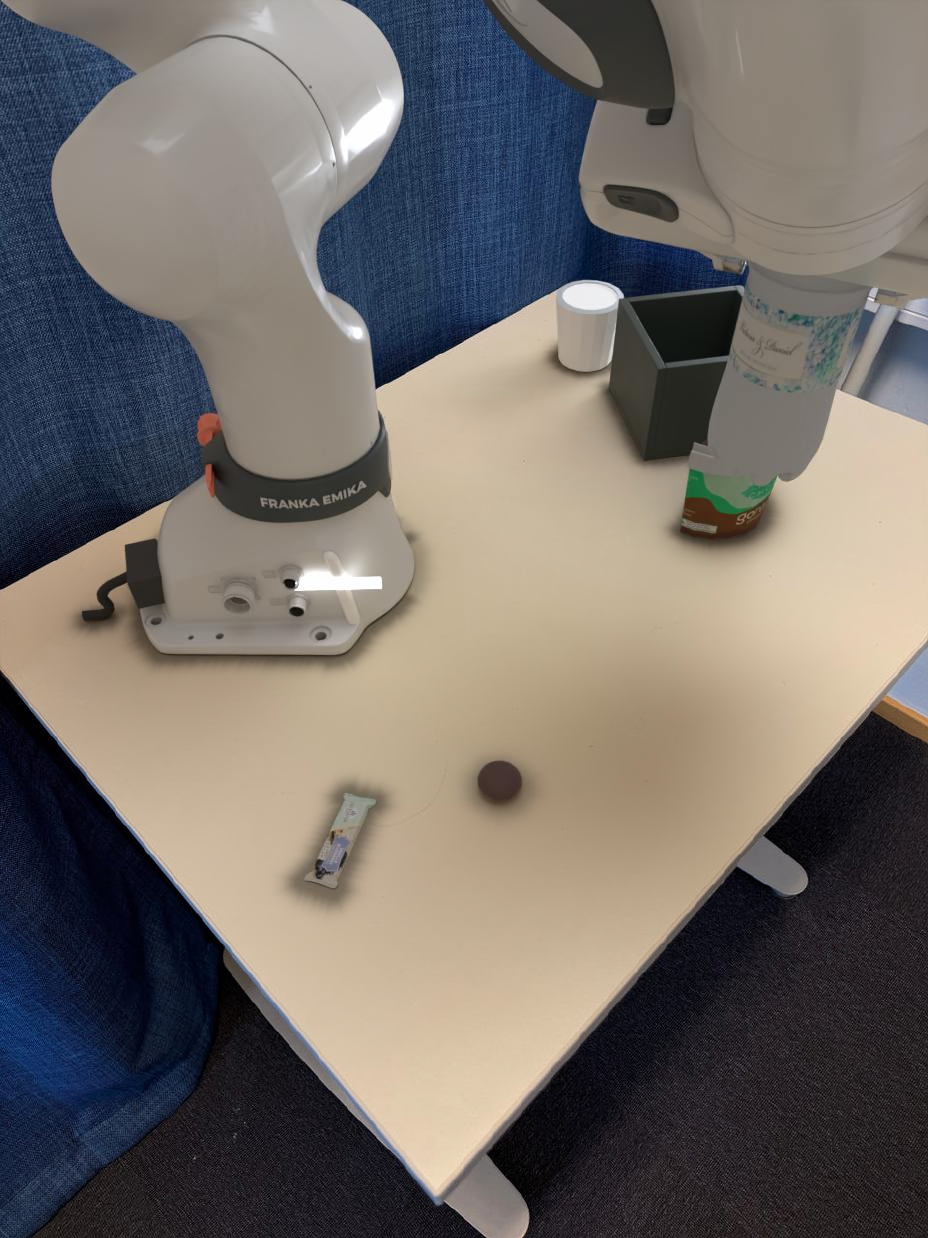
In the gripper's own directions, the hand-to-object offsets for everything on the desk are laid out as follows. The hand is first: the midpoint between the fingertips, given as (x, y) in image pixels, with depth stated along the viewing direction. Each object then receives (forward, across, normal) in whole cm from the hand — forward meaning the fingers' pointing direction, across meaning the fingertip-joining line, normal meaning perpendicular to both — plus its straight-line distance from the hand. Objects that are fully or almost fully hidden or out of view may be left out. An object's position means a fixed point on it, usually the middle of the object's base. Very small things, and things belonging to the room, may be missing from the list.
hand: (810, 273), depth 45 cm
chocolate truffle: (+10, +9, +34) cm, 36 cm away
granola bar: (+5, +17, +40) cm, 43 cm away
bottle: (+8, 0, +9) cm, 12 cm away
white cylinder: (+47, +23, -3) cm, 52 cm away
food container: (+34, +2, +10) cm, 35 cm away
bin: (+43, +10, +1) cm, 44 cm away
